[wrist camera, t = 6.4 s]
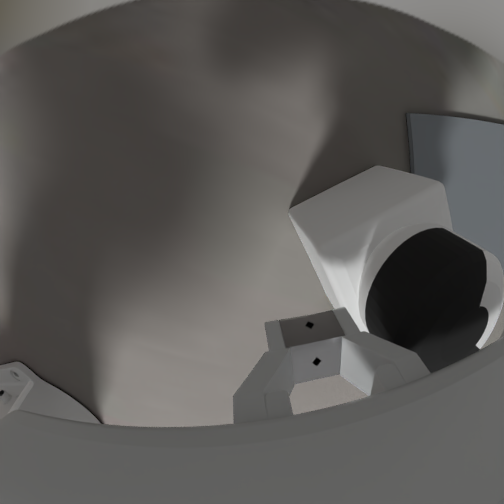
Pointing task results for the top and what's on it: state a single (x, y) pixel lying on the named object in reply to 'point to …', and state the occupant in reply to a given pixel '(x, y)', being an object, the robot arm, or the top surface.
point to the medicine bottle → (402, 264)
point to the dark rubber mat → (464, 173)
